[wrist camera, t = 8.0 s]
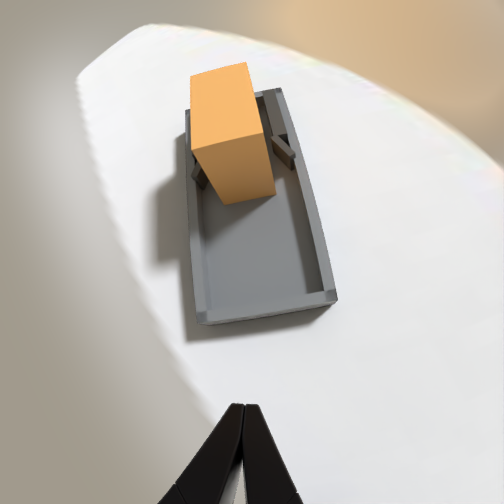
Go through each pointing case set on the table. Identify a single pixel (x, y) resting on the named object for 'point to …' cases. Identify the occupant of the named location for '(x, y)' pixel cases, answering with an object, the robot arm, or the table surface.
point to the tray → (258, 234)
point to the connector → (230, 134)
